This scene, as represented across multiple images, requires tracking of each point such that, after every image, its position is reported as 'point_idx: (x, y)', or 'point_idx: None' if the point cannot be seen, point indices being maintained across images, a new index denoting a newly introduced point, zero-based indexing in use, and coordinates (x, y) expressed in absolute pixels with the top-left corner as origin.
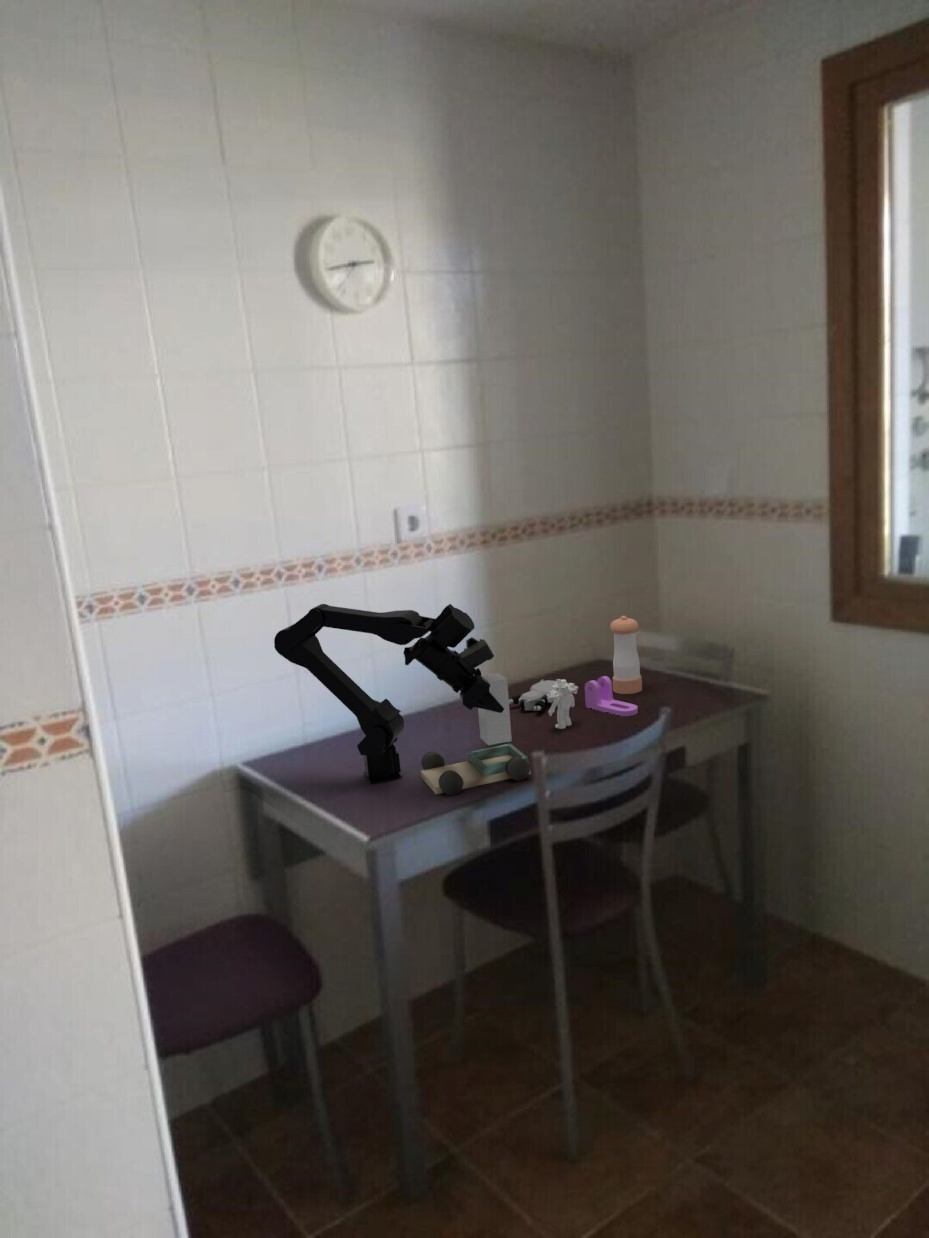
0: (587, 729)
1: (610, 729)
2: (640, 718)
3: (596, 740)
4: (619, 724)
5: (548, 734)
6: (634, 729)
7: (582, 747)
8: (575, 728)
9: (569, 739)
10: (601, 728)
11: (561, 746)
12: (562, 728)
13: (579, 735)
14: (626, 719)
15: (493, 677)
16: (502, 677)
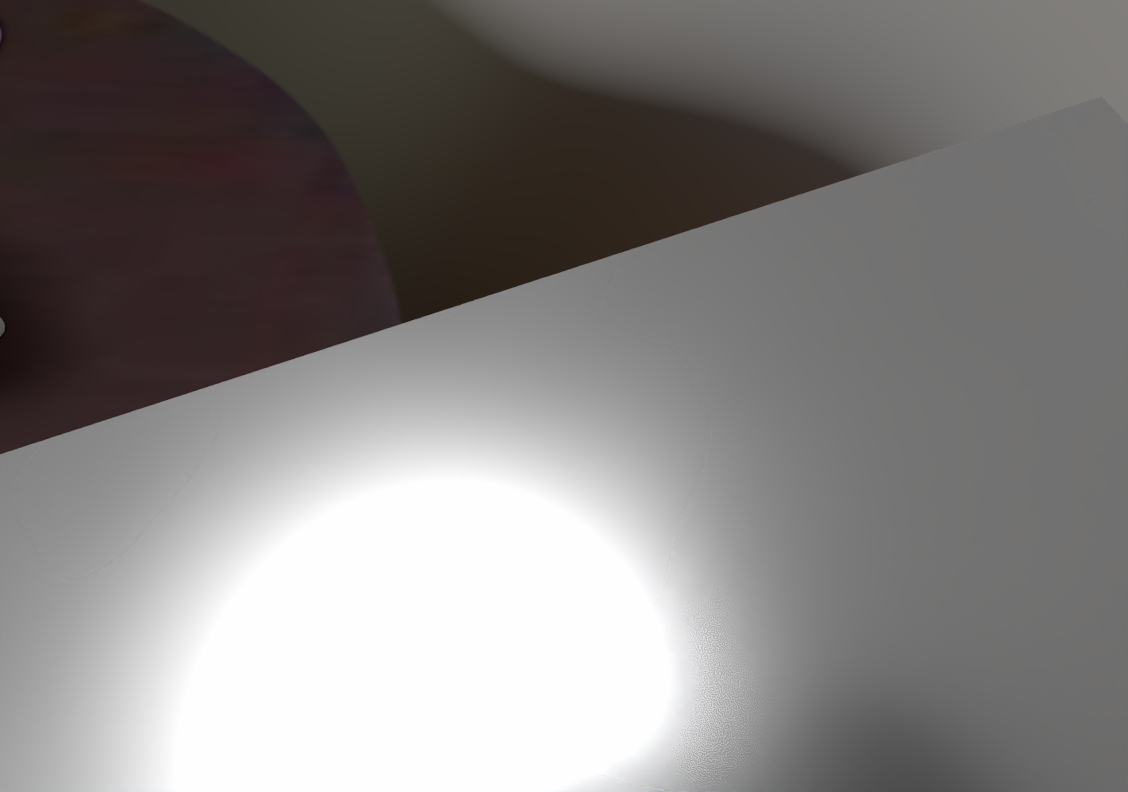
0: (88, 211)
1: (145, 117)
2: (62, 6)
3: (276, 179)
4: (95, 81)
5: (58, 411)
6: (196, 32)
7: (355, 243)
8: (38, 265)
9: (202, 300)
10: (109, 152)
11: (299, 344)
12: (3, 329)
13: (162, 250)
14: (42, 53)
15: (833, 771)
16: (867, 276)
